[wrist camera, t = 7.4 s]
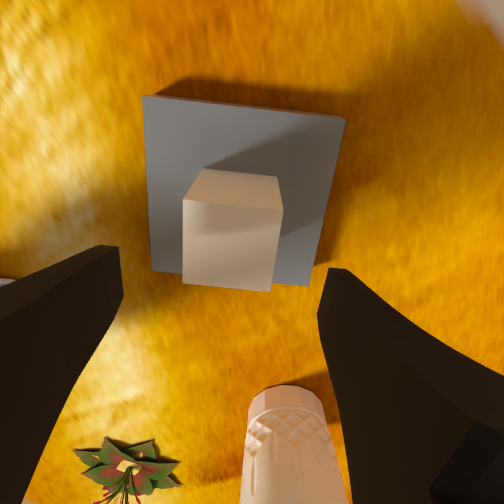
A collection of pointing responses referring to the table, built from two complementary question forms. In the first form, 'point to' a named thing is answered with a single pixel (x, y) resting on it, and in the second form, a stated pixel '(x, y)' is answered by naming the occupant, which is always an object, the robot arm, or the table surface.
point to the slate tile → (239, 170)
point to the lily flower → (127, 482)
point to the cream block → (231, 230)
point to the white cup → (289, 451)
